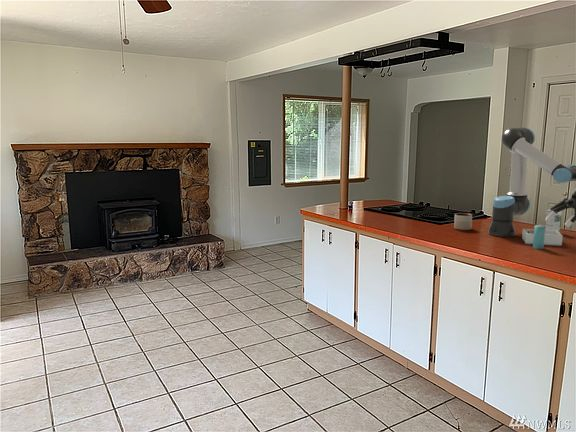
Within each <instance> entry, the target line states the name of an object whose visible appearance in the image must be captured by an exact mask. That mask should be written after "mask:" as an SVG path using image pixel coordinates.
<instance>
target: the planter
mask: <svg viewBox="0 0 576 432" xmlns="http://www.w3.org/2000/svg"><path fill="white" fill-rule="evenodd" d="M453 225H454V226H453V228H454V229H456V230H458V231H470V230H472V227H473V214H472V213H465V212H464V213H462V212H458V213H455V214H454V223H453Z"/></svg>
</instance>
